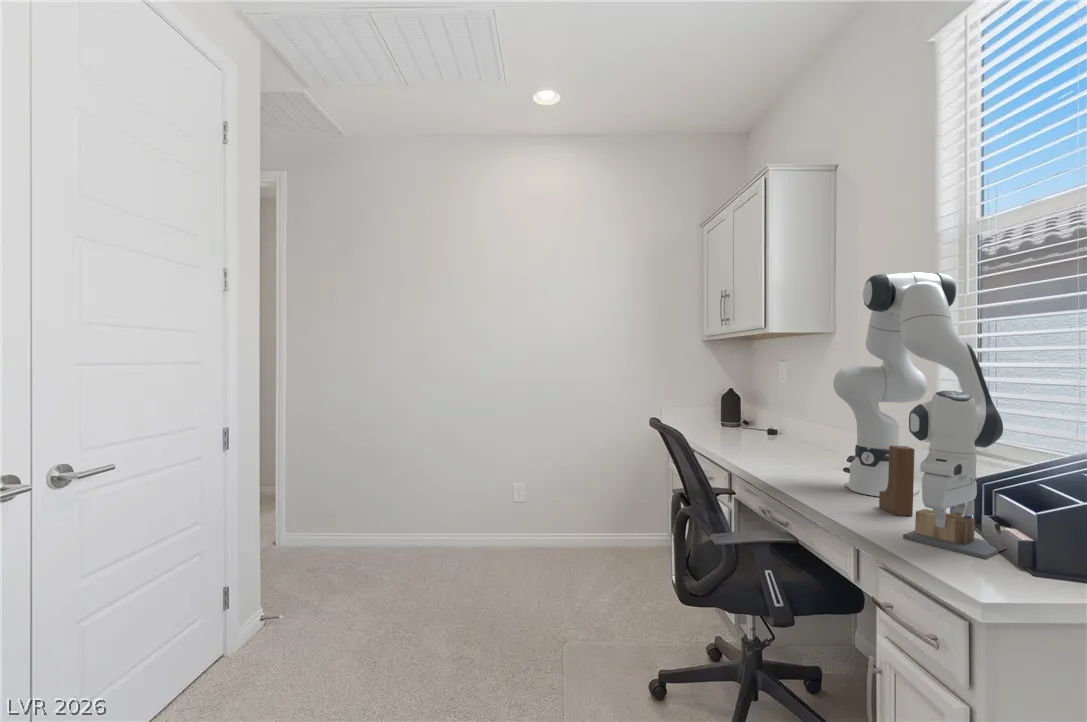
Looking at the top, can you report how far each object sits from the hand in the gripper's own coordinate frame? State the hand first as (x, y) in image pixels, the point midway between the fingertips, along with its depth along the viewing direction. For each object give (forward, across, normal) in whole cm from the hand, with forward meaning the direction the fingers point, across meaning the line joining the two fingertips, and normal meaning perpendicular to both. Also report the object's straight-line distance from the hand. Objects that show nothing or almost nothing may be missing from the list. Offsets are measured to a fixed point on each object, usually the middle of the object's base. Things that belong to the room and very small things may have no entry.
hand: (949, 523), depth 131 cm
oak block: (+1, 0, -6) cm, 6 cm away
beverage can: (+4, -24, -6) cm, 25 cm away
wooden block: (+4, -17, -19) cm, 26 cm away
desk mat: (+4, 0, +1) cm, 4 cm away
